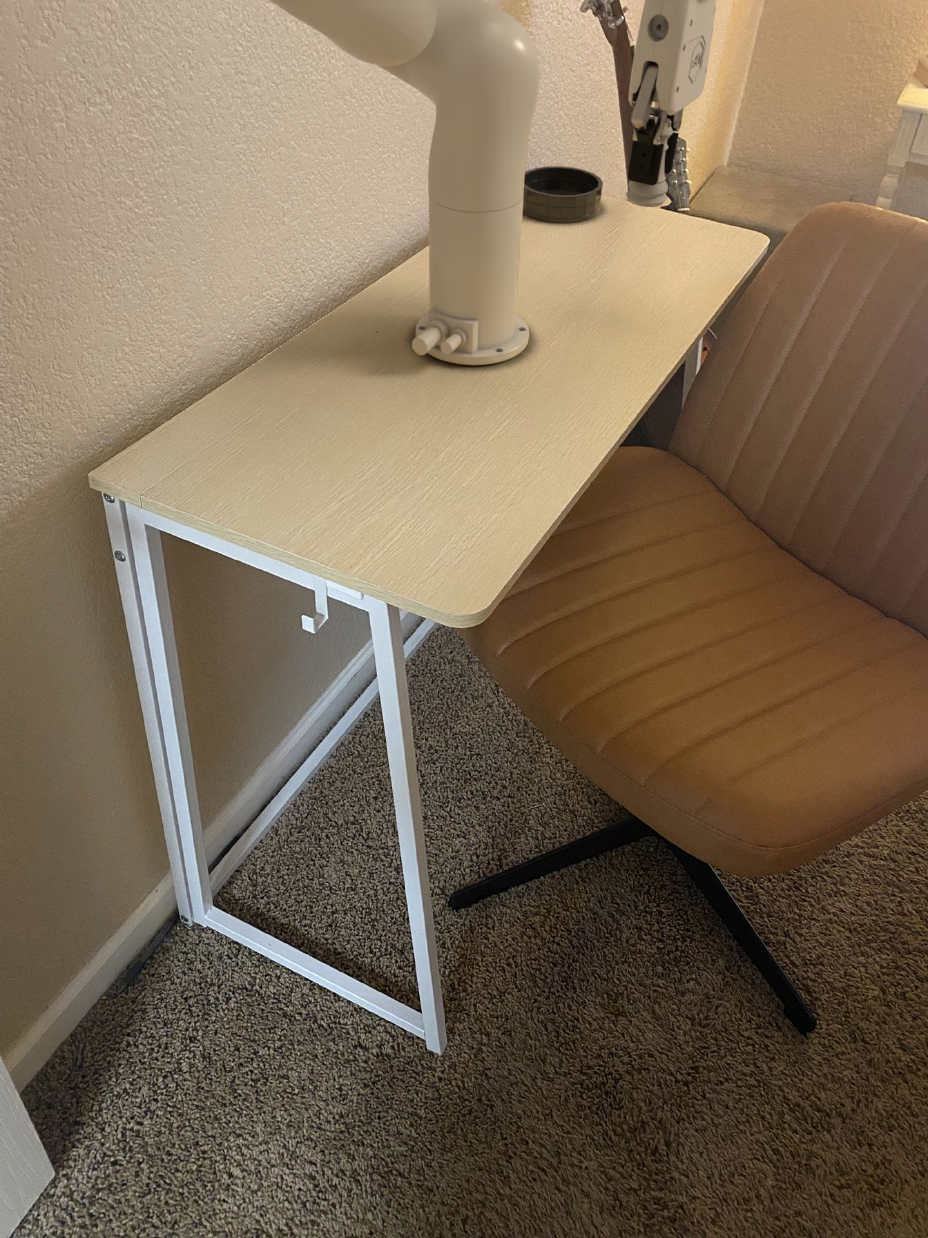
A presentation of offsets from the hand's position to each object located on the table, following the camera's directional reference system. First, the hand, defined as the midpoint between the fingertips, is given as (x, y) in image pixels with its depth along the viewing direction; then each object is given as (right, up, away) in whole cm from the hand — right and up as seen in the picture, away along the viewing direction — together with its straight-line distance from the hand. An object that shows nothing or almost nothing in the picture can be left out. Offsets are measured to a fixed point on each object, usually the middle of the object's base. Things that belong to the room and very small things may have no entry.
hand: (649, 174), depth 100 cm
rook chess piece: (0, -2, +2) cm, 3 cm away
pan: (-6, +11, +33) cm, 35 cm away
